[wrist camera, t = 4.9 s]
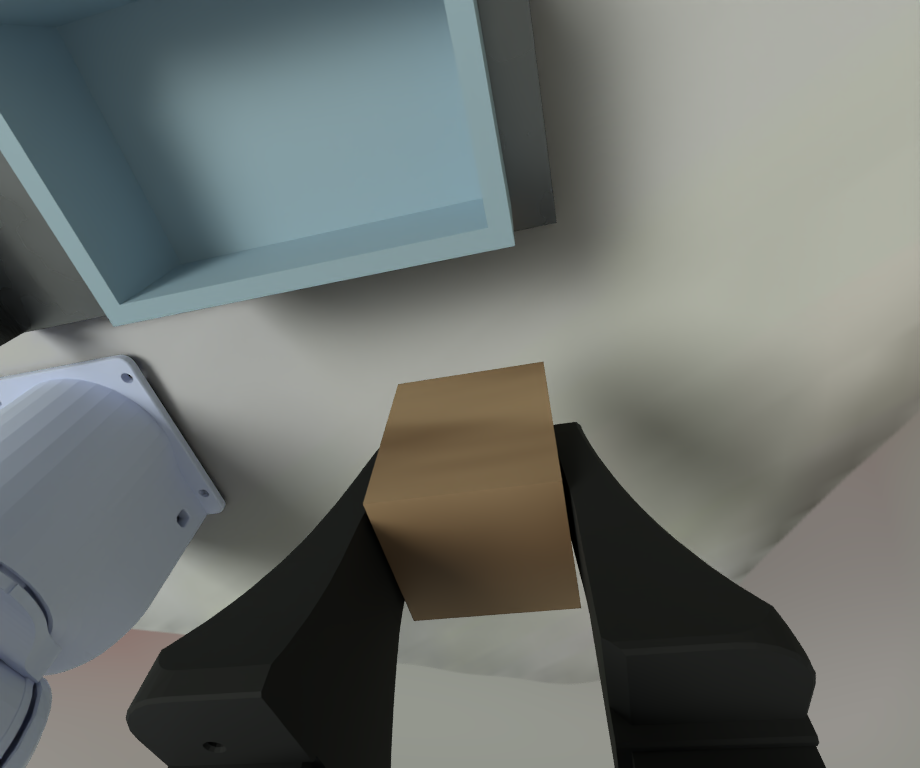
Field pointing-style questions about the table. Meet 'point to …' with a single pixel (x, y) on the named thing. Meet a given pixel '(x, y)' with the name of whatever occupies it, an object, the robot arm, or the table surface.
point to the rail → (522, 142)
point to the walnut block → (474, 497)
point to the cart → (251, 142)
